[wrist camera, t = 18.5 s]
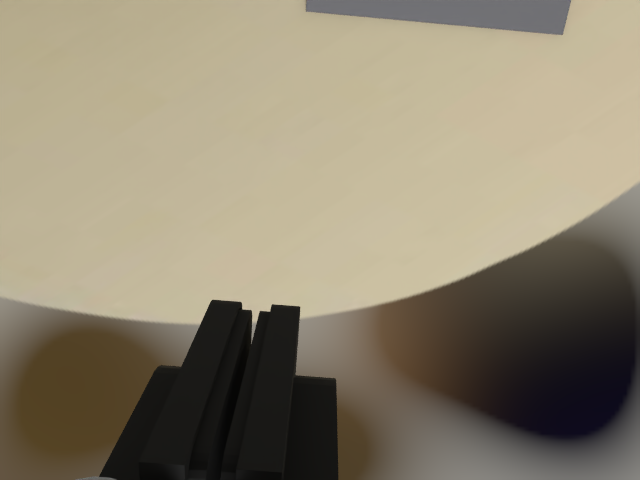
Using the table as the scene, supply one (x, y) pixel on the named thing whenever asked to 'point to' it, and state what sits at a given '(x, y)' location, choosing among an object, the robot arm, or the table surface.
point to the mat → (458, 12)
